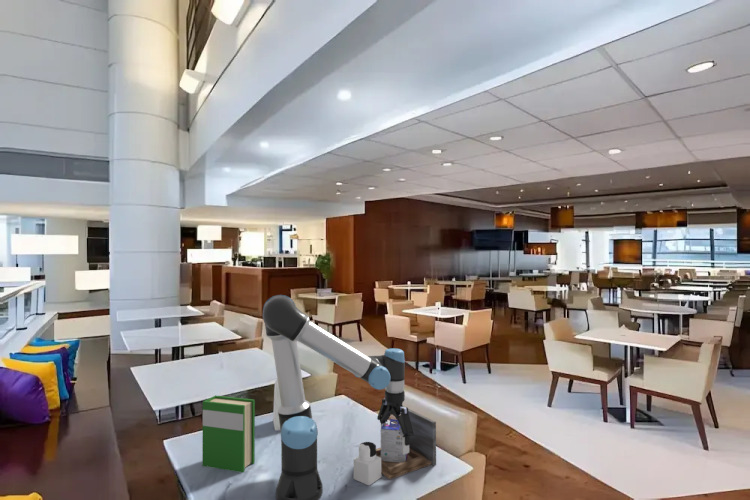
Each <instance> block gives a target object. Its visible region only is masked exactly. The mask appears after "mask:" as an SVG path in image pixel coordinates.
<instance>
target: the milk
mask: <svg viewBox="0 0 750 500" xmlns="http://www.w3.org/2000/svg"><path fill="white" fill-rule="evenodd" d="M273 390H274V392H273V413H272V414H273V415H272V416H273V417H272V418H273V419H272V422H273V427H274V431H281V430H280V422H279V416H278V409H279V408H280V406H281V399H280V393H279V386H278V379H277V378H276V380H275V381H274V389H273Z"/></svg>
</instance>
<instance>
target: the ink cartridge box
mask: <svg viewBox="0 0 750 500" xmlns="http://www.w3.org/2000/svg"><path fill="white" fill-rule="evenodd" d="M392 422H393V423H392ZM394 422H396V423H394ZM402 436H403V432H402V430H401V427H400V425H399V422H398V420H397V419H396V418H393V419H392V418H389V424H388V425H385V424H383V426H382V428H381V427H380V448H381V459H382V460H383V461H386V462H398V463H402V462H405V461H407V458H408V453H407V454H404V455H403V454H402Z"/></svg>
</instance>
